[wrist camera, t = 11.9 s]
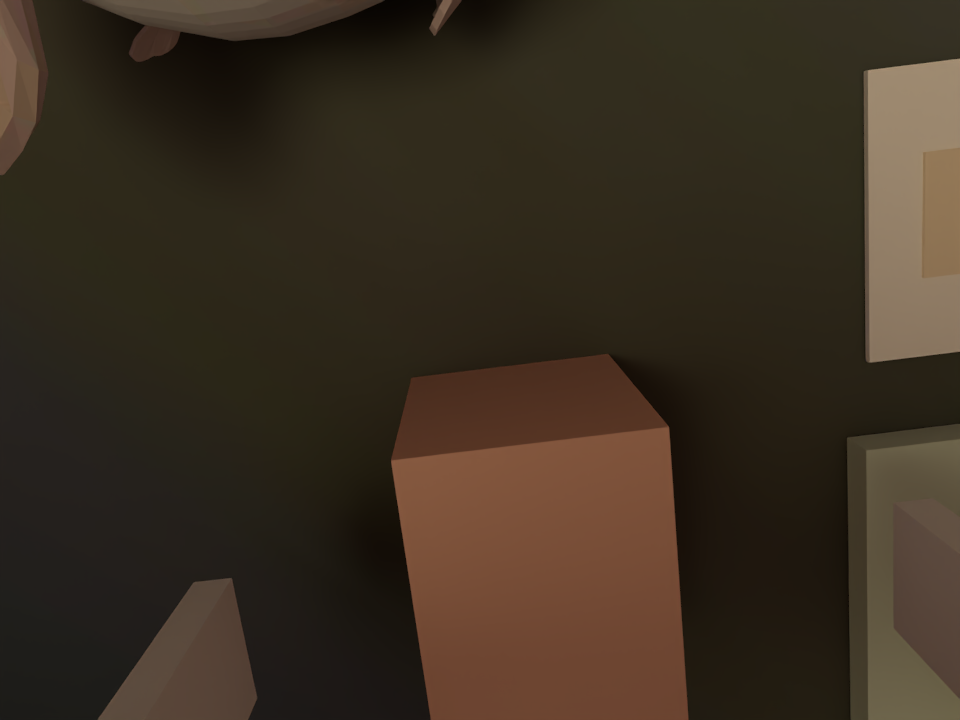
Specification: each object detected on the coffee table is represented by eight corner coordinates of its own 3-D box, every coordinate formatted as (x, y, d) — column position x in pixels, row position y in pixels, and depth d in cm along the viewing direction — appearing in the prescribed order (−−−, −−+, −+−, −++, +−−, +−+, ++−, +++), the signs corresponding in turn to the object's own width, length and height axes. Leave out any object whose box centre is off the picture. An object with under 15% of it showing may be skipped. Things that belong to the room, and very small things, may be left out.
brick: (446, 622, 21) (441, 789, 16) (411, 376, 20) (390, 460, 14) (628, 600, 21) (691, 760, 16) (607, 353, 20) (669, 426, 14)
